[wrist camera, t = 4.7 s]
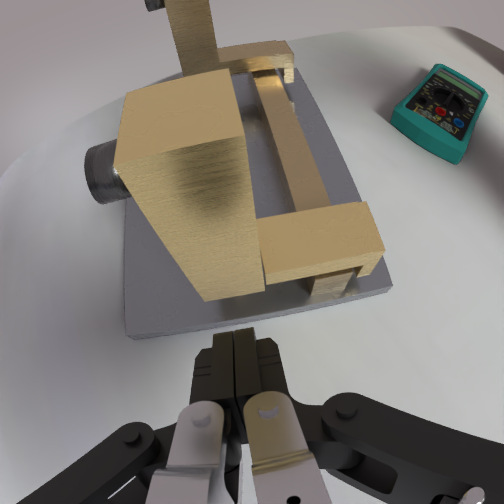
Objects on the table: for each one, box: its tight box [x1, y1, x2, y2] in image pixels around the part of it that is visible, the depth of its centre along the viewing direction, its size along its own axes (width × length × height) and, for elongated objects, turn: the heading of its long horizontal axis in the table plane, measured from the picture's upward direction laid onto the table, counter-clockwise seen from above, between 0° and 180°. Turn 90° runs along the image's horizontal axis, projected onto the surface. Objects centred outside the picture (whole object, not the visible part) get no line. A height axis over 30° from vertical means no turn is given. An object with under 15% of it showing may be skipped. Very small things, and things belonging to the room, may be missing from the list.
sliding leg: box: [84, 68, 385, 302], centre depth 12 cm, size 10×3×12 cm, turn 100°
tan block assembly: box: [145, 0, 353, 296], centre depth 17 cm, size 10×22×12 cm, turn 10°
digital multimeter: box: [391, 64, 488, 164], centre depth 25 cm, size 7×15×3 cm, turn 138°
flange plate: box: [124, 68, 393, 339], centre depth 23 cm, size 16×23×1 cm
